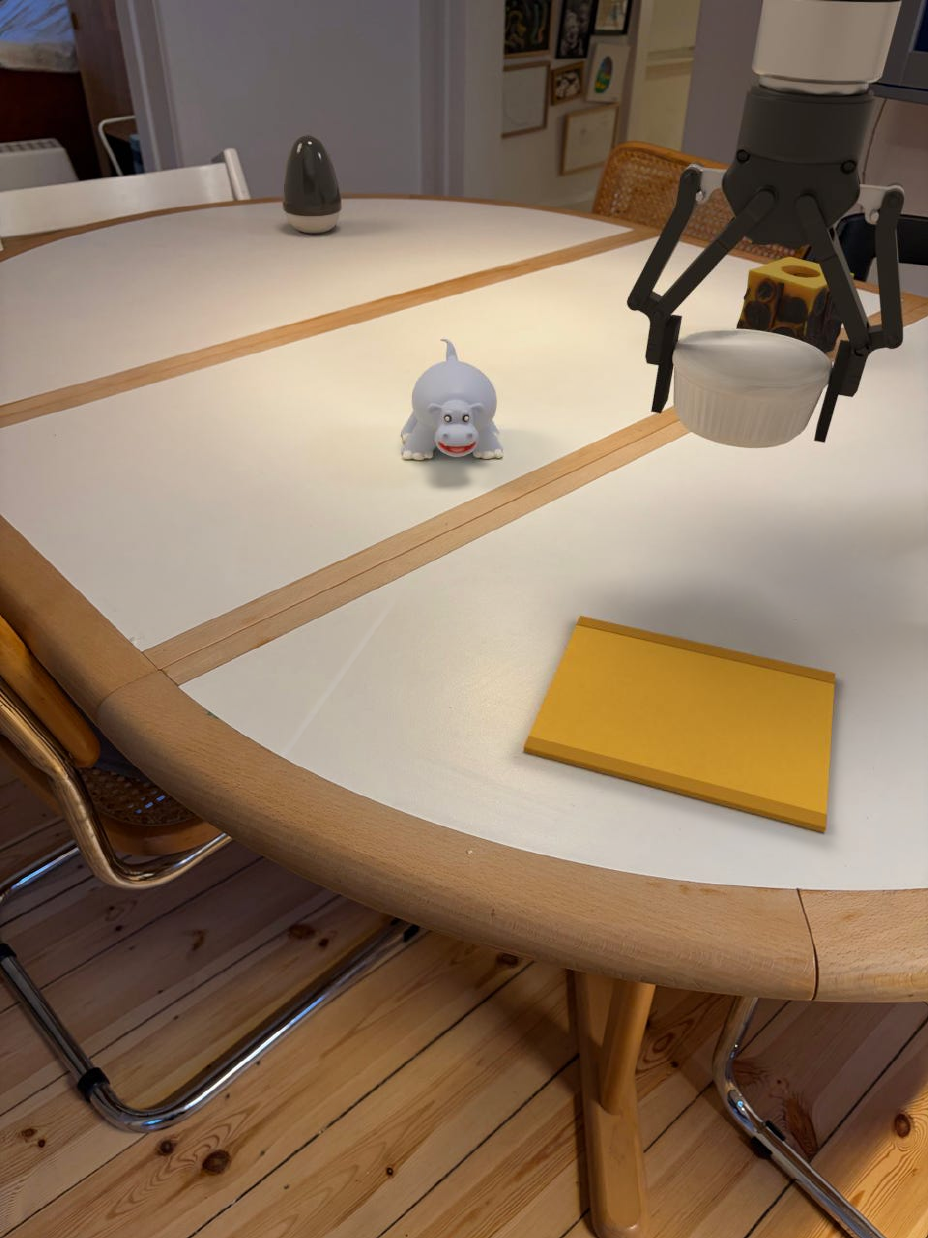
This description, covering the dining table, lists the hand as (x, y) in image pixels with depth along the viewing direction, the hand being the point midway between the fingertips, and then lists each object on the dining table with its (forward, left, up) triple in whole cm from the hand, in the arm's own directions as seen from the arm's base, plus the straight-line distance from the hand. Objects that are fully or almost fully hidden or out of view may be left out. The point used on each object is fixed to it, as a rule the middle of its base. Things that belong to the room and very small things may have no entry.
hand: (738, 419), depth 69 cm
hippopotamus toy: (+29, -17, -17) cm, 37 cm away
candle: (-2, -62, -17) cm, 64 cm away
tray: (-1, +15, -16) cm, 22 cm away
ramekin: (0, 0, 0) cm, 0 cm away
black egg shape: (+81, -87, -17) cm, 120 cm away
